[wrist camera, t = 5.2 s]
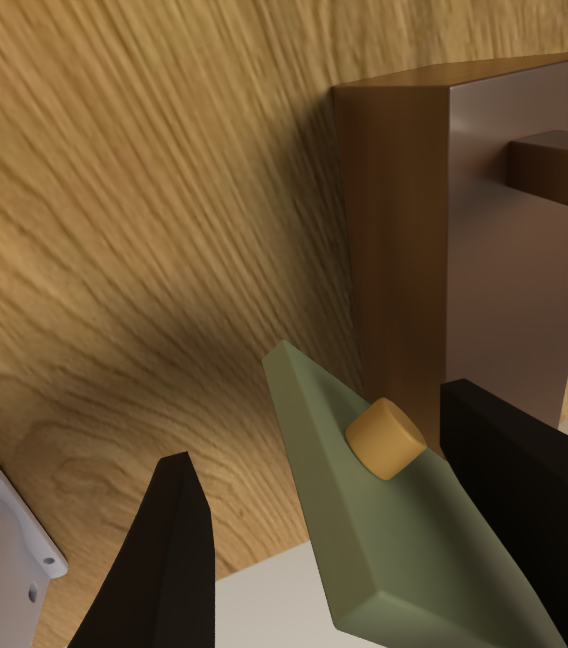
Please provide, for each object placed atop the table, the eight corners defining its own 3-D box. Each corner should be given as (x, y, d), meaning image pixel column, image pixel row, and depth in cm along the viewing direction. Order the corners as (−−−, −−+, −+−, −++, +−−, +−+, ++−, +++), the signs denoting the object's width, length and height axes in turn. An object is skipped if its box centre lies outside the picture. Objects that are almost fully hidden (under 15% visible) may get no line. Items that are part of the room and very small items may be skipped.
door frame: (437, 401, 24) (735, 776, 11) (367, 420, 23) (588, 831, 11) (437, 63, 16) (1563, -38, 3) (331, 86, 16) (1067, 82, 3)
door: (537, 495, 15) (718, 704, 10) (496, 525, 16) (650, 742, 10) (312, 306, 10) (447, 542, 5) (259, 360, 10) (332, 630, 5)
